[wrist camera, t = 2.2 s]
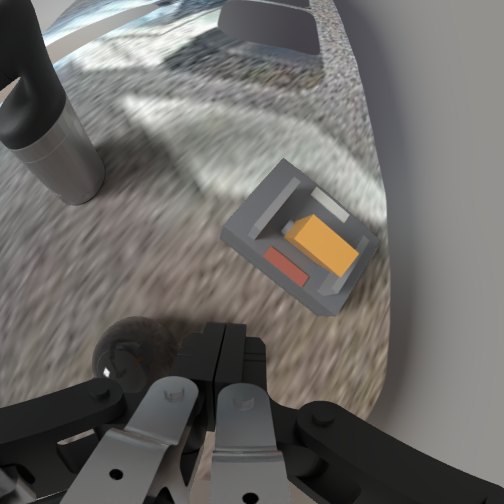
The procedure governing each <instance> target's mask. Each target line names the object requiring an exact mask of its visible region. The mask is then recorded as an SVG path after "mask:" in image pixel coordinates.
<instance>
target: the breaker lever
mask: <svg viewBox="0 0 504 504" xmlns="http://www.w3.org/2000/svg"><path fill="white" fill-rule="evenodd" d="M280 232H281V233H283V234H284V235H285V236H284V238H285V239H287V240H288V241H289V242H290V243H291V244H293V245H294V246H295V247H296V248H298V249H299V250H300V251H301V252H302V253H304V254H305V255H306V256H307V257H309V258H310V259H311V260H312V261H313V262H315V263H316V264H318V265H320V266H322V267H323V268H325V269H327V270H328V271H330V272H332V273H334V274H335V275H337V276H339V277H342V275H343V274H344V273H345V272H346V270H347V269H348V268H349V266H350V265H351V264H352V262H353V261H354V260H355V259H356V257H357V256H358V255H359V253H358V252H357V251H356V250H355V249H353V248H352V247H351V246H350V245H349V244H348V243H347V242H345V241H344V240H343V239H342V238H341V237H340V236H339V235H337V234H336V233H335V232H334V231H333V230H332V229H330V228H329V227H328V226H327V225H326V224H325V223H323V222H322V221H321V220H320V219H319V218H317V217H316V216H315V215H314V214H313V215H310V216H308V217H305V218H302V219H300V220H297V221H296V222H294V221H293V220H292V219H290V220H289V221H288V222H287V223H286V225H285V226H284V227H283V228H282V230H281V231H280Z"/></svg>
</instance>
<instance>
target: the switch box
mask: <svg viewBox="0 0 504 504" xmlns="http://www.w3.org/2000/svg"><path fill="white" fill-rule="evenodd" d="M313 214H314V215H315V216H316V217H317V218H319V219H320V220H321V221H322V222H323V223H325V224H326V225H327V226H328V227H329V228H330V229H332V230H333V231H334V232H335V233H336V234H337V235H339V236H340V237H341V238H342V239H343V240H344V241H345V242H347V243H348V244H349V245H350V246H351V247H352V248H353V249H355V250H356V251H357V252H358V253H359V255H358V256H357V257H356V259H355V260H354V261H353V262H352V264H351V265H350V266H349V268H348V269H347V270H346V272H345V273H344V274H343V275H342V277H339V276H337V275H335V274H334V273H332V272H330V271H328V270H327V269H325V268H323V267H322V266H320V265H318V264H316V263H315V262H313V261H312V260H311V259H310V258H309V257H307V256H306V255H305V254H304V253H302V252H301V251H300V250H299V249H298V248H296V247H295V246H294V245H293V244H291V243H290V242H289V241H288V240H287V239H285V238H284V236H285V235H284V234H283V233H281V232H280V231H281V230H282V228H283V227H284V226H285V225H286V223H287V222H288V221H289V220H290V219H292V220H293V221H294V222H296V221H297V220H300V219H302V218H305V217H308V216H310V215H313ZM220 239H221V240H223V241H224V242H225V243H226V244H228V245H229V246H230V247H231V248H233V249H234V250H235V251H236V252H238V253H239V254H240V255H241V256H243V257H244V258H245V259H246V260H248V261H249V262H250V263H251V264H253V265H254V266H255V267H256V268H258V269H259V270H260V271H261V272H263V273H264V274H265V275H266V276H268V277H269V278H270V279H271V280H273V281H274V282H275V283H277V284H278V285H279V286H280V287H282V288H283V289H284V290H285V291H287V292H288V293H289V294H290V295H292V296H293V297H294V298H295V299H297V300H298V301H299V302H301V303H302V304H303V305H304V306H306V307H307V308H308V309H309V310H311V311H312V312H313V313H314V314H316V315H317V316H336V315H337V314H338V312H339V311H340V309H341V308H342V306H343V304H344V303H345V301H346V300H347V298H348V296H349V295H350V293H351V291H352V290H353V288H354V286H355V285H356V283H357V281H358V279H359V278H360V276H361V274H362V273H363V271H364V269H365V267H366V265H367V264H368V262H369V260H370V258H371V256H372V255H373V253H374V251H375V249H376V247H377V245H378V243H379V242H380V239H379V238H378V237H377V236H375V235H374V234H373V233H372V232H371V231H370V230H369V229H368V228H367V227H366V226H365V225H364V224H363V223H361V222H360V221H359V220H358V219H357V218H356V217H355V216H354V215H352V214H351V213H350V212H349V211H348V210H347V209H346V208H345V207H343V206H342V205H341V204H340V203H339V202H338V201H336V200H335V199H334V198H333V197H332V196H331V195H329V194H328V193H327V192H326V191H325V190H323V189H322V188H321V187H320V186H318V185H317V184H316V183H315V182H314V181H312V180H311V179H310V178H309V177H307V176H306V175H305V174H304V173H302V172H301V171H300V170H298V169H297V168H296V167H295V166H293V165H292V164H291V163H289V162H288V161H287V160H286V159H284V158H283V159H282V160H281V161H280V162H279V163H278V164H277V166H276V167H275V168H274V169H273V170H272V171H271V172H270V173H269V174H268V175H267V177H266V178H265V179H264V180H263V181H262V182H261V183H260V184H259V185H258V187H257V188H256V189H255V190H254V191H253V192H252V193H251V194H250V195H249V197H248V198H247V199H246V200H245V201H244V202H243V203H242V205H241V206H240V207H239V208H238V209H237V210H236V211H235V213H234V214H233V215H232V216H231V217H230V218H229V219H228V221H227V222H226V223H225V224H224V225H223V228H222V232H221V236H220Z"/></svg>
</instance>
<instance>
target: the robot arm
mask: <svg viewBox="0 0 504 504" xmlns="http://www.w3.org/2000/svg"><path fill="white" fill-rule="evenodd" d="M18 77H21V78H20V80H19V81H18V83H17V84H16V86H15V87H14V88H13V90H12V91H11V93H10V94H9V95H8V96H7V98H6V99H5V101H4V102H3V104H2V106H1V107H0V141H1V142H2V143H3V144H4V145H5V146H6V147H7V148H8V149H9V150H10V151H11V152H12V153H13V154H14V155H15V156H16V157H17V158H18V159H19V160H20V161H21V162H22V163H23V164H24V165H25V166H26V167H27V168H28V169H29V170H30V171H31V172H32V173H33V174H34V175H35V176H36V177H37V178H38V179H39V180H40V181H41V182H42V183H43V184H44V185H45V186H46V187H47V188H48V189H50V190H51V191H52V192H53V193H54V194H55V195H56V196H57V197H58V198H59V199H60V200H61V201H63V202H64V203H66V204H68V205H79V204H82V203H85V202H87V201H88V200H90V199H91V198H92V197H93V196H94V195H95V194H96V193H97V192H98V190H99V189H100V187H101V185H102V183H103V180H104V176H105V168H104V164H103V162H102V160H101V159H100V157H99V155H98V153H97V152H96V150H95V148H94V146H93V144H92V143H91V141H90V139H89V137H88V135H87V133H86V132H85V130H84V128H83V126H82V124H81V122H80V120H79V118H78V116H77V114H76V113H75V111H74V109H73V107H72V105H71V103H70V101H69V99H68V97H67V95H66V93H65V91H64V89H63V87H62V85H61V83H60V81H59V79H58V76H57V74H56V72H55V70H54V68H53V65H52V63H51V61H50V58H49V55H48V53H47V50H46V47H45V44H44V40H43V37H42V34H41V30H40V26H39V23H38V19H37V16H36V13H35V10H34V7H33V5H32V3H31V0H0V91H1V90H2V89H4V88H5V87H6V86H7V85H9V84H10V83H11V82H13V81H14V80H15V79H17V78H18ZM215 427H216V434H215V449H214V451H213V454H212V467H211V486H210V504H292V502H291V496H290V491H289V485H288V480H289V481H290V482H292V483H293V484H294V485H295V486H296V487H297V488H299V489H300V490H301V491H302V492H304V493H305V494H306V495H308V496H309V497H310V498H311V499H313V500H314V501H315V502H317V503H318V504H504V488H503V487H501V486H499V485H496V484H494V483H491V482H488V481H486V480H483V479H480V478H478V477H475V476H473V475H470V474H468V473H465V472H463V471H461V470H459V469H456V468H454V467H452V466H449V465H447V464H445V463H443V462H441V461H439V460H437V459H434V458H432V457H430V456H428V455H426V454H424V453H422V452H420V451H418V450H416V449H414V448H412V447H410V446H409V445H406V444H405V443H403V442H401V441H399V440H397V439H395V438H394V437H392V436H390V435H388V434H386V433H384V432H382V431H381V430H379V429H377V428H376V427H374V426H372V425H370V424H368V423H367V422H365V421H364V420H362V419H360V418H359V417H357V416H355V415H354V414H352V413H350V412H349V411H347V410H345V409H344V408H342V407H341V406H339V405H337V404H335V403H332V402H328V401H313V402H310V403H307V404H305V405H303V406H302V407H301V408H300V409H299V410H297V409H292V408H288V407H285V406H282V405H280V404H278V403H276V402H275V401H273V400H272V399H271V398H270V396H269V395H268V392H267V380H266V348H265V344H264V343H263V341H262V340H261V339H260V338H257V337H246V324H233V323H227V325H226V323H218V322H207V323H206V326H205V329H204V331H203V334H201V333H192V334H190V335H189V336H188V337H186V338H185V339H184V341H183V343H182V345H181V348H180V349H179V351H178V355H177V356H176V358H175V360H174V362H173V365H172V367H171V369H170V371H169V373H168V375H167V377H165V378H161V379H159V380H157V381H156V382H155V383H153V385H152V386H151V387H150V389H149V390H148V391H147V392H137V393H123V389H122V387H121V385H120V384H119V383H118V382H116V381H114V380H112V379H108V378H96V379H92V380H89V381H86V382H83V383H81V384H78V385H75V386H72V387H69V388H66V389H63V390H60V391H57V392H54V393H51V394H48V395H44V396H41V397H38V398H35V399H32V400H28V401H25V402H21V403H18V404H14V405H11V406H7V407H4V408H0V504H190V492H191V488H192V485H193V482H194V479H195V476H196V473H197V469H198V466H199V463H200V460H201V456H202V453H203V450H204V441H205V436H206V431H212V432H215ZM90 429H93V430H94V432H95V433H94V434H91V435H89V436H86V437H84V438H81V439H79V440H76V441H73V442H71V443H68V444H65V445H60V444H57V442H59V441H61V440H64V439H67V438H69V437H72V436H75V435H77V434H80V433H83V432H85V431H88V430H90ZM66 489H67V490H66ZM63 490H64V491H63ZM60 491H62V492H60ZM57 492H59V493H57ZM54 493H56V494H54ZM51 494H54V495H51ZM48 495H51V496H48ZM45 496H48V497H45ZM41 497H45V498H43V499H39V500H36V499H38V498H41Z"/></svg>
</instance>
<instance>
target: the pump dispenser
mask: <svg viewBox="0 0 504 504" xmlns="http://www.w3.org/2000/svg"><path fill="white" fill-rule="evenodd" d="M179 349H180V348H179V345H178V343H177V341H176V339H175V337H174V336H173V334H172V333H171V332H170V331H169V330H168V329H167V328H166V327H165V326H164V325H163V324H161V323H160V322H158V321H156V320H154V319H151V318H148V317H143V316H133V317H127V318H124V319H122V320H120V321H118V322H116V323H115V324H113V325H112V326H111V327H109V328H108V329H107V330H106V331H105V332H104V334H103V335H102V336H101V338H100V339H99V341H98V343H97V345H96V347H95V349H94V352H93V357H92V369H93V374H94V378H93V379H96V378H108V379H112V380H114V381H116V382H118V383H119V384H120V385H121V387H122V389H123V393H137V392H147V391H148V390H149V389H150V387H151V386H152V385H153V383H155V382H156V381H157V380H159V379H161V378H165V377H167V375H168V373H169V371H170V369H171V367H172V365H173V362H174V360H175V358H176V356H177V355H178V351H179ZM91 380H92V379H91Z"/></svg>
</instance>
